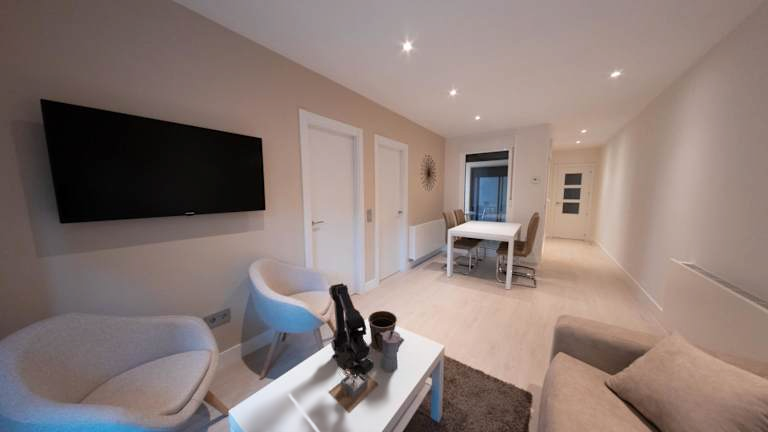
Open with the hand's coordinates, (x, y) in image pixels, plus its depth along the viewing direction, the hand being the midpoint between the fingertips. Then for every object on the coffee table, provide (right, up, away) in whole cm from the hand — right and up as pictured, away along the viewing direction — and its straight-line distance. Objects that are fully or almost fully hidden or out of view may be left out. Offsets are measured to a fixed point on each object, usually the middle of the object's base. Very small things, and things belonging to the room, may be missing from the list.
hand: (354, 374), depth 103 cm
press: (0, -7, +1) cm, 7 cm away
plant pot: (+12, -3, +30) cm, 33 cm away
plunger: (0, -4, +1) cm, 4 cm away
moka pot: (+15, -6, +14) cm, 22 cm away
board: (0, -8, +1) cm, 8 cm away
